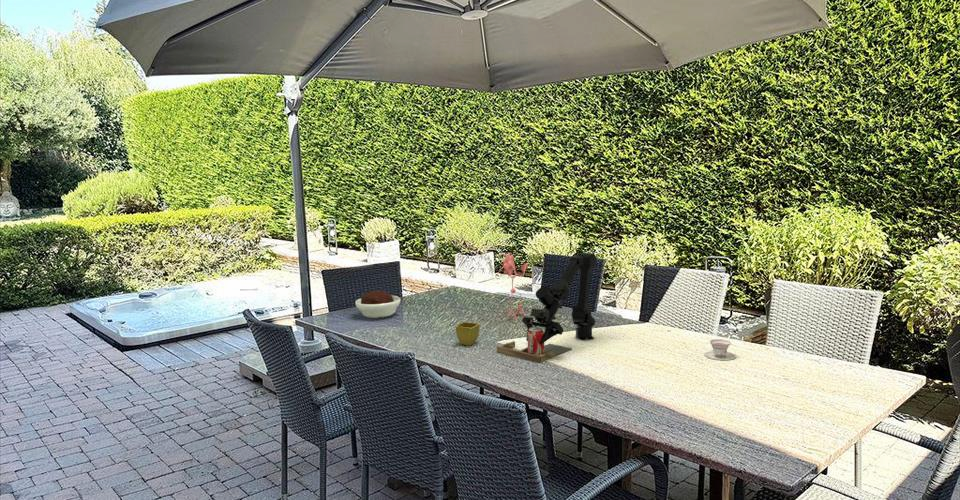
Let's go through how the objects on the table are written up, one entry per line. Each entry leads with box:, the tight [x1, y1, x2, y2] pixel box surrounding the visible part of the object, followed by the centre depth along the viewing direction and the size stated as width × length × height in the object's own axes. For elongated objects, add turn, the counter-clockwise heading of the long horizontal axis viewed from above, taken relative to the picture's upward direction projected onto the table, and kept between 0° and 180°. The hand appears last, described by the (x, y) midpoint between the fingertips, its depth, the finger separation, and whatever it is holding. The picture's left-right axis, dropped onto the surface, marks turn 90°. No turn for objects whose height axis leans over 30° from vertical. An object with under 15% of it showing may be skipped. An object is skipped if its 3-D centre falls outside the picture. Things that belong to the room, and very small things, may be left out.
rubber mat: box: [544, 343, 573, 357], centre depth 257 cm, size 12×12×1 cm
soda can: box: [526, 326, 545, 356], centre depth 249 cm, size 7×7×12 cm
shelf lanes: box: [496, 340, 556, 364], centre depth 253 cm, size 11×24×2 cm, turn 45°
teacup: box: [703, 338, 737, 361], centre depth 241 cm, size 12×12×6 cm
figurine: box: [494, 252, 529, 321], centre depth 317 cm, size 15×26×35 cm, turn 146°
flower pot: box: [454, 321, 481, 346], centre depth 272 cm, size 9×9×9 cm
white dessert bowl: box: [355, 290, 401, 319], centre depth 332 cm, size 25×25×15 cm
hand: (533, 342), depth 248 cm, fingers closed on soda can, 7 cm apart
